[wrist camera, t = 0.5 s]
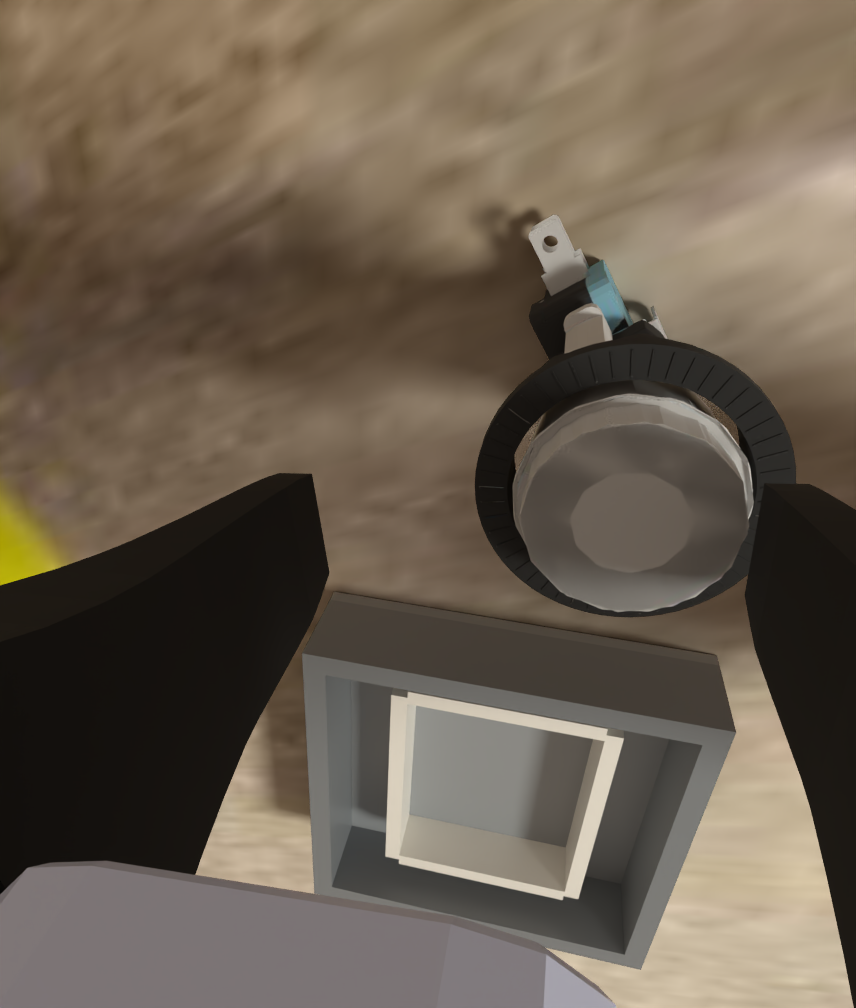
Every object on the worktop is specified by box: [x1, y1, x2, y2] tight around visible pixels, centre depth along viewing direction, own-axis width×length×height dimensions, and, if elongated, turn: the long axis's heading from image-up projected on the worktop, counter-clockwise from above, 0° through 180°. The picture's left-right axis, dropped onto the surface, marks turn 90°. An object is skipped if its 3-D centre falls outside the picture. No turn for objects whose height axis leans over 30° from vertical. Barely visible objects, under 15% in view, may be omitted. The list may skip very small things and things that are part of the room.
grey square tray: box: [302, 592, 736, 970], centre depth 27 cm, size 14×14×4 cm
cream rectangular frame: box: [385, 688, 624, 900], centre depth 27 cm, size 8×10×2 cm
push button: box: [475, 214, 796, 617], centre depth 15 cm, size 7×5×10 cm
